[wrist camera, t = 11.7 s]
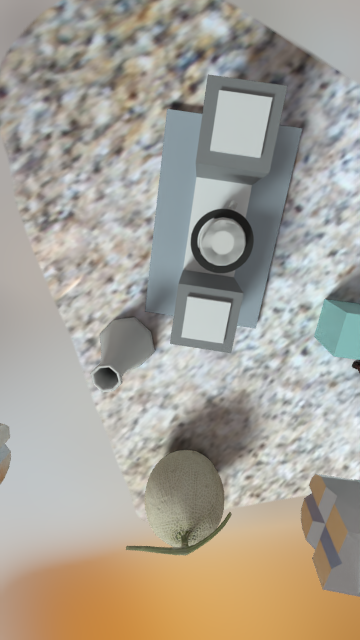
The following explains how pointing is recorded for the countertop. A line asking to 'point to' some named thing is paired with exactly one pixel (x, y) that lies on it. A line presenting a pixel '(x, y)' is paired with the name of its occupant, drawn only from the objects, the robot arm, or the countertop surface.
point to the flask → (121, 352)
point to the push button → (222, 240)
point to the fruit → (184, 502)
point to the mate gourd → (356, 366)
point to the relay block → (340, 328)
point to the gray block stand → (219, 207)
